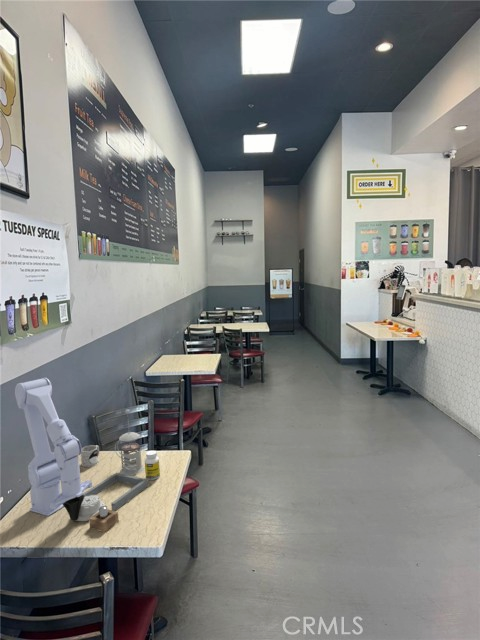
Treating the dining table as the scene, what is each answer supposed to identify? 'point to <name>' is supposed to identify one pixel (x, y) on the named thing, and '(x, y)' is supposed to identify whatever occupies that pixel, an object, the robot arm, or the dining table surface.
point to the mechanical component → (89, 507)
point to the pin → (103, 512)
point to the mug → (89, 455)
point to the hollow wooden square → (103, 521)
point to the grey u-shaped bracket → (137, 481)
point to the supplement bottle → (152, 465)
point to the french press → (133, 465)
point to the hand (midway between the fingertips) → (74, 519)
